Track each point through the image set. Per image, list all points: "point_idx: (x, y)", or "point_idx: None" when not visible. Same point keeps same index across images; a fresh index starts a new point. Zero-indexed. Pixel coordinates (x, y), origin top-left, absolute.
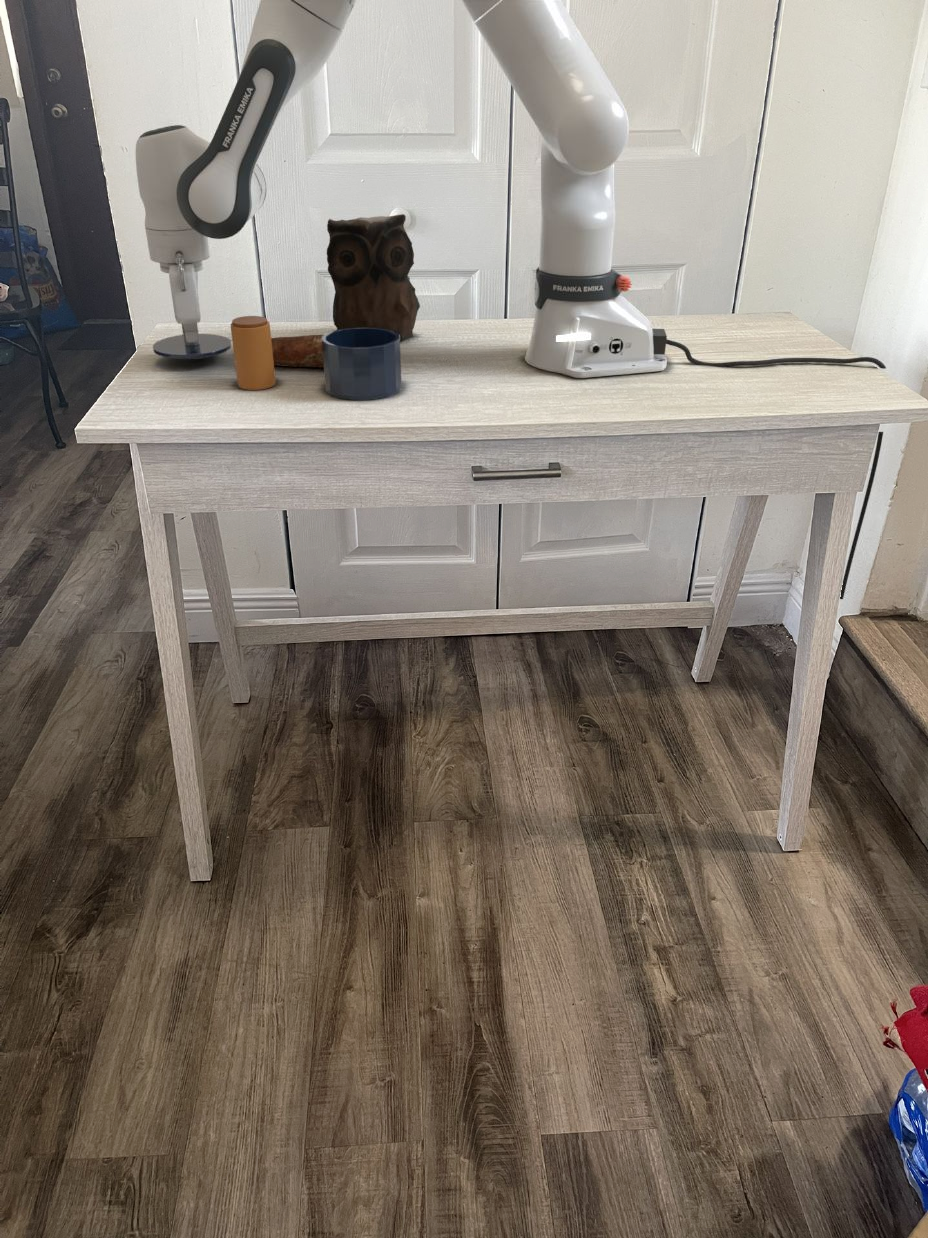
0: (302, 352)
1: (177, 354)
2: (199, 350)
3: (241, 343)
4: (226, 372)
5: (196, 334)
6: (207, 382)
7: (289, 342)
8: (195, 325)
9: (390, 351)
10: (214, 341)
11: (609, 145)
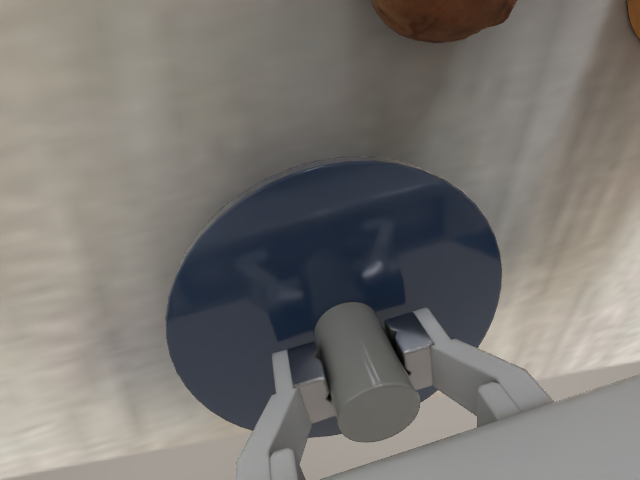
0: None
1: (484, 330)
2: (449, 274)
3: None
4: (497, 133)
5: (442, 328)
6: (588, 178)
7: None
8: (495, 358)
9: None
10: (311, 251)
11: None
